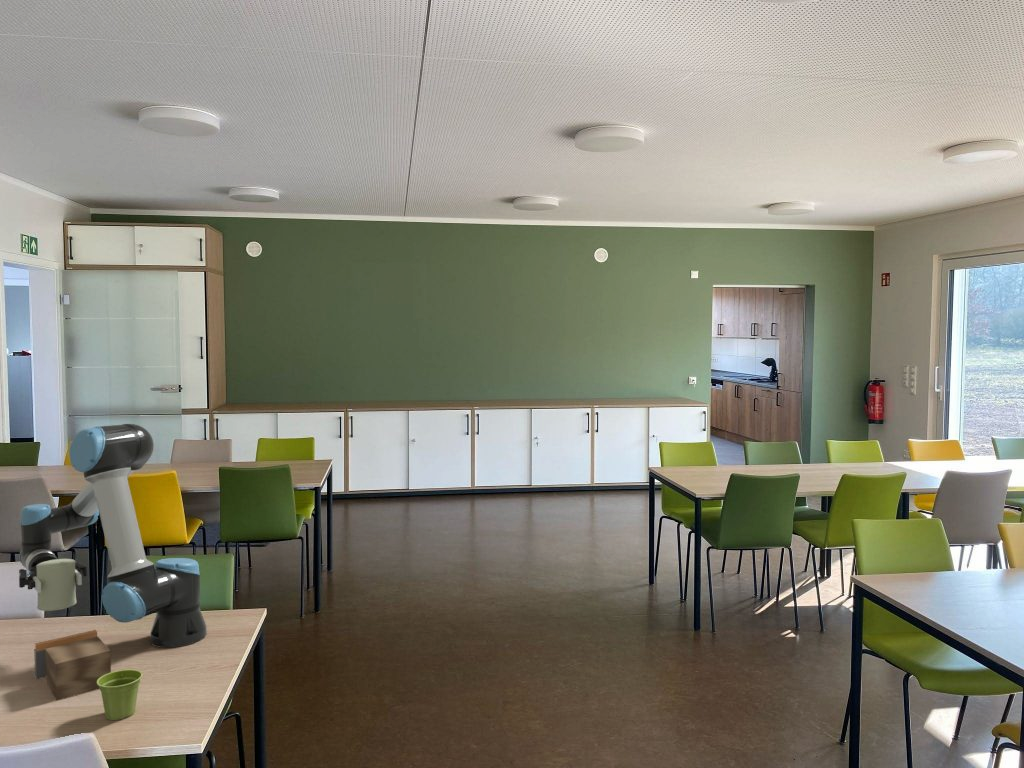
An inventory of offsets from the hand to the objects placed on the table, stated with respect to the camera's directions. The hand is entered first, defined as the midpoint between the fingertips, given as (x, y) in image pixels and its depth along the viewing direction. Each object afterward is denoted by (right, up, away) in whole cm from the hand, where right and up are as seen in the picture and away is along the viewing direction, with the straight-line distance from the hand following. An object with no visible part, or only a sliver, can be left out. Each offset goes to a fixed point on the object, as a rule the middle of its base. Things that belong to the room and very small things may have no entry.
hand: (60, 583), depth 200 cm
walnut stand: (+11, -23, -11) cm, 27 cm away
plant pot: (+30, -24, -26) cm, 46 cm away
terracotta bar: (+3, -15, -2) cm, 16 cm away
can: (-3, -7, +4) cm, 9 cm away
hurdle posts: (+3, -22, -2) cm, 22 cm away
